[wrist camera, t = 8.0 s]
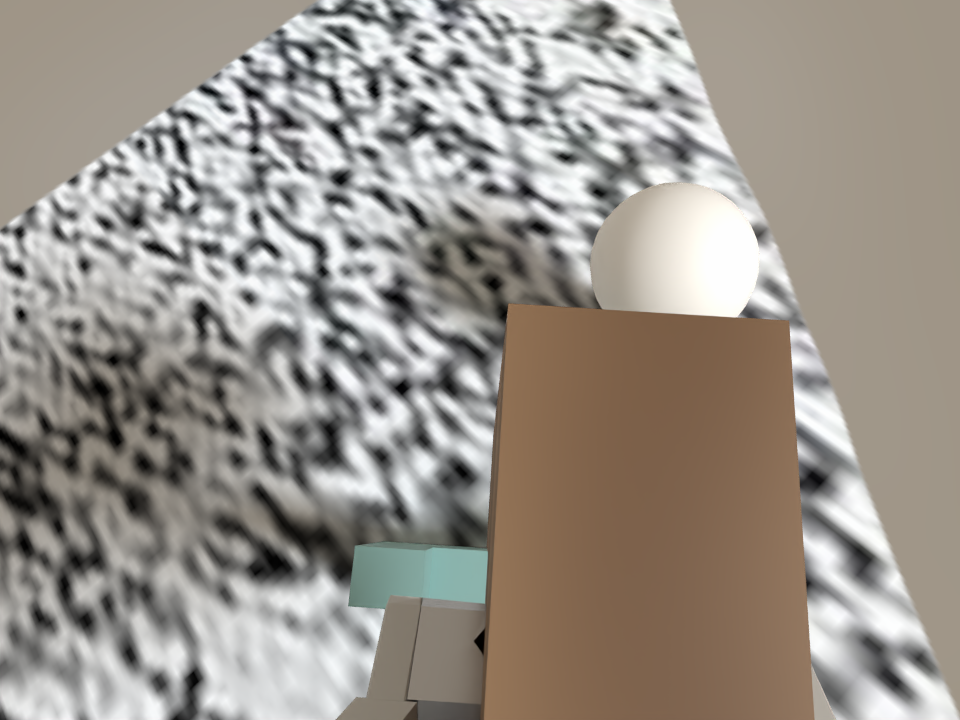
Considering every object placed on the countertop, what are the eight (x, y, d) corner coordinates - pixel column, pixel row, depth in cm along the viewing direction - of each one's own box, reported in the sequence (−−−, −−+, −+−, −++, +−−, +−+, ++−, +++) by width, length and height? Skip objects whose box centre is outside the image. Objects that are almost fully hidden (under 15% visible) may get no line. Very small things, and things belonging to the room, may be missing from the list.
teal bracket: (380, 587, 28) (348, 606, 21) (384, 541, 29) (355, 545, 22) (645, 605, 28) (698, 631, 21) (645, 559, 29) (696, 569, 22)
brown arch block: (469, 831, 14) (437, 1501, 4) (493, 435, 16) (507, 303, 7) (602, 842, 14) (867, 1545, 4) (607, 442, 16) (789, 320, 7)
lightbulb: (540, 310, 32) (571, 201, 21) (639, 252, 32) (716, 119, 22) (609, 411, 30) (678, 349, 20) (710, 348, 31) (829, 256, 20)
